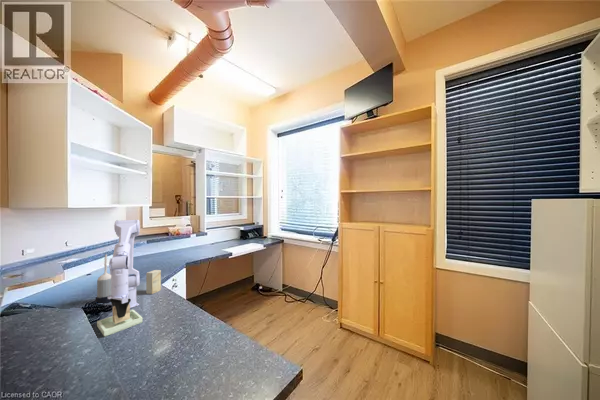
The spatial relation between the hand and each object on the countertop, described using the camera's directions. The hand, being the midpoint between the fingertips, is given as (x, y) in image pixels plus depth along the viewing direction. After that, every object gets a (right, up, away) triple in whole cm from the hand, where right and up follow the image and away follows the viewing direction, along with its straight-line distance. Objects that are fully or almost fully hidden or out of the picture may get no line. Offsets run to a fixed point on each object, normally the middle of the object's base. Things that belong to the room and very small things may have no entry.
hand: (120, 315), depth 93 cm
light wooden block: (-9, -5, +34) cm, 36 cm away
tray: (0, -4, 0) cm, 4 cm away
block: (0, -2, 0) cm, 2 cm away
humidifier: (-27, -5, +23) cm, 36 cm away
